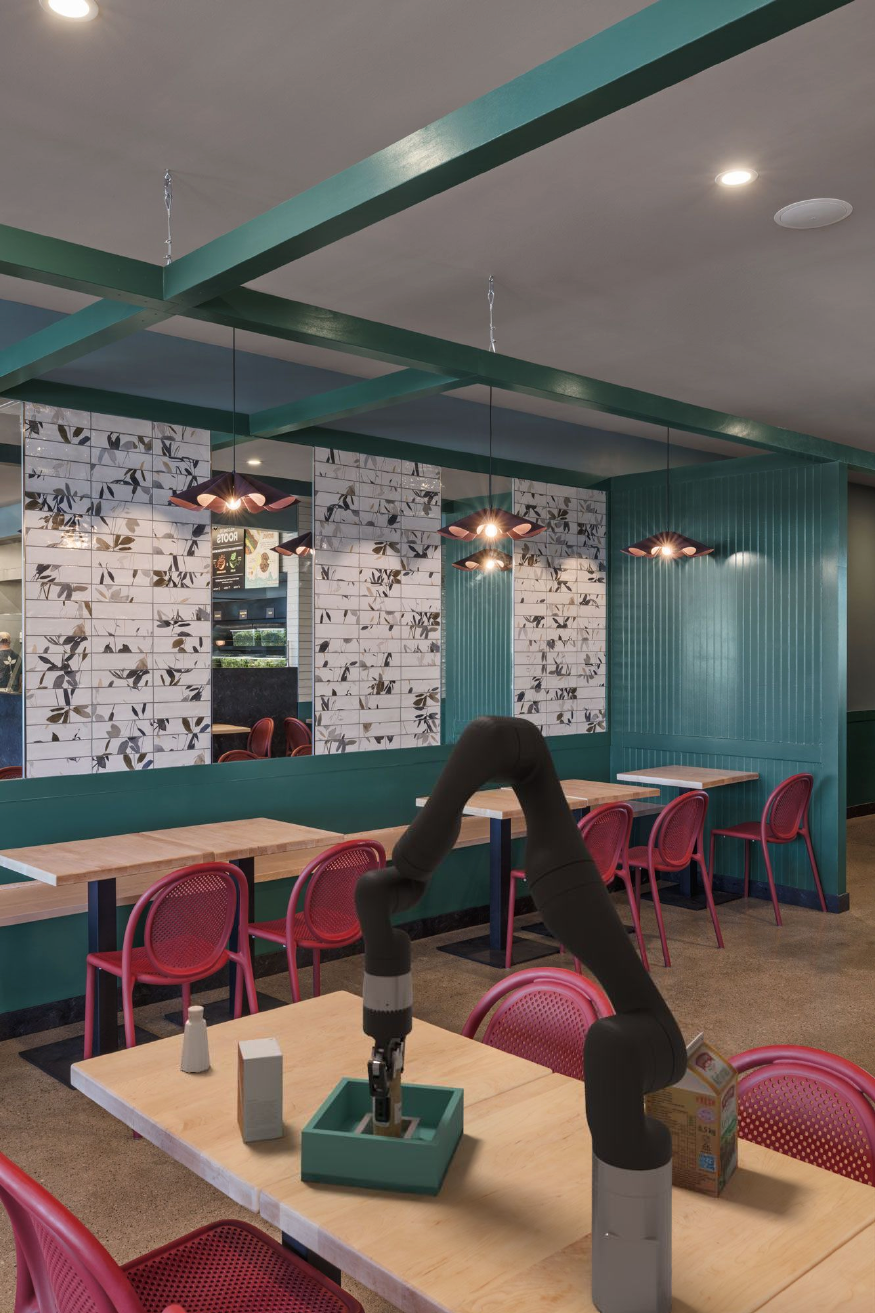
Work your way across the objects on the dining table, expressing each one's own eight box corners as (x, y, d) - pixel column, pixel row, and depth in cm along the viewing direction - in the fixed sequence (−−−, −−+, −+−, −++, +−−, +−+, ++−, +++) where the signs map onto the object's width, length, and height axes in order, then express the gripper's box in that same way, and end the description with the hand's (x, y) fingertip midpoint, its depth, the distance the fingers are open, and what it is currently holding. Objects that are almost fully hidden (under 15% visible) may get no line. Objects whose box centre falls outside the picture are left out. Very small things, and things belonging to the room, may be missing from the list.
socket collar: (407, 1164, 149) (407, 1143, 149) (350, 1157, 150) (350, 1137, 151) (420, 1137, 157) (420, 1118, 157) (366, 1132, 159) (366, 1112, 159)
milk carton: (717, 1198, 142) (717, 1061, 142) (644, 1178, 147) (645, 1046, 148) (737, 1167, 151) (737, 1038, 151) (668, 1149, 156) (668, 1025, 157)
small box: (236, 1121, 165) (237, 1040, 165) (275, 1116, 167) (276, 1036, 167) (242, 1143, 157) (242, 1059, 158) (283, 1138, 159) (283, 1054, 160)
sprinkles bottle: (407, 1144, 153) (408, 1054, 153) (381, 1152, 150) (381, 1060, 151) (392, 1133, 157) (392, 1045, 157) (366, 1140, 154) (366, 1051, 155)
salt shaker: (177, 1064, 189) (178, 1005, 189) (206, 1060, 191) (207, 1001, 191) (183, 1075, 184) (183, 1014, 184) (213, 1070, 186) (213, 1010, 186)
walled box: (437, 1196, 142) (437, 1146, 142) (300, 1180, 146) (301, 1131, 146) (463, 1133, 161) (463, 1088, 162) (342, 1120, 166) (343, 1077, 166)
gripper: (400, 1017, 146) (399, 1137, 146) (422, 987, 160) (421, 1097, 160) (350, 1014, 148) (349, 1132, 148) (376, 984, 162) (375, 1093, 162)
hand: (387, 1113), depth 154 cm, fingers closed on sprinkles bottle, 4 cm apart
